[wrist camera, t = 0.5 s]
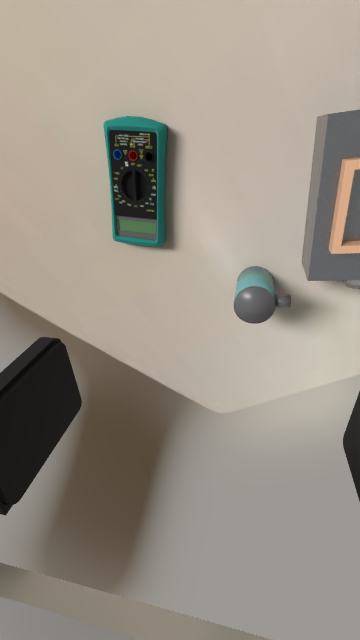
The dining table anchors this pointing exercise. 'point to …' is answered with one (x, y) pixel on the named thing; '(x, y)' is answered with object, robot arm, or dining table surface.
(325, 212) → the grey box
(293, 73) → the dining table surface
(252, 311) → the cylinder
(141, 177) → the digital multimeter
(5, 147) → the dining table surface
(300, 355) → the dining table surface
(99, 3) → the dining table surface
